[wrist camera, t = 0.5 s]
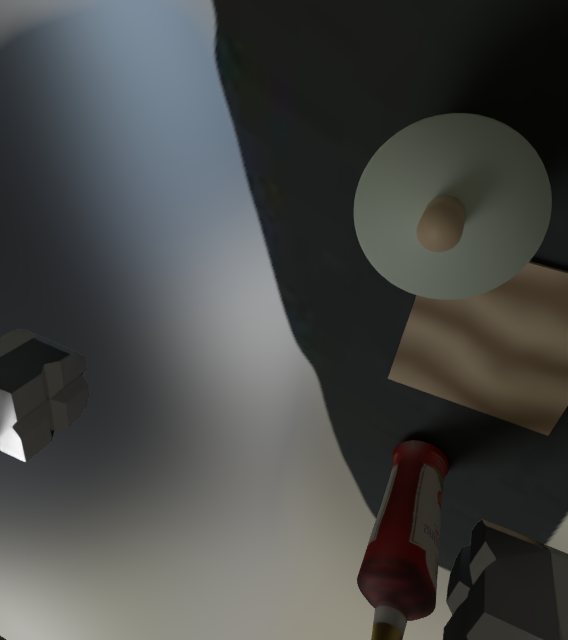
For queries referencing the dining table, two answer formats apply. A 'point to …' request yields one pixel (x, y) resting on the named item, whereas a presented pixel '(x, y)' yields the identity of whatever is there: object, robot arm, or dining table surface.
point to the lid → (452, 206)
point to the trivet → (494, 349)
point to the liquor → (405, 541)
